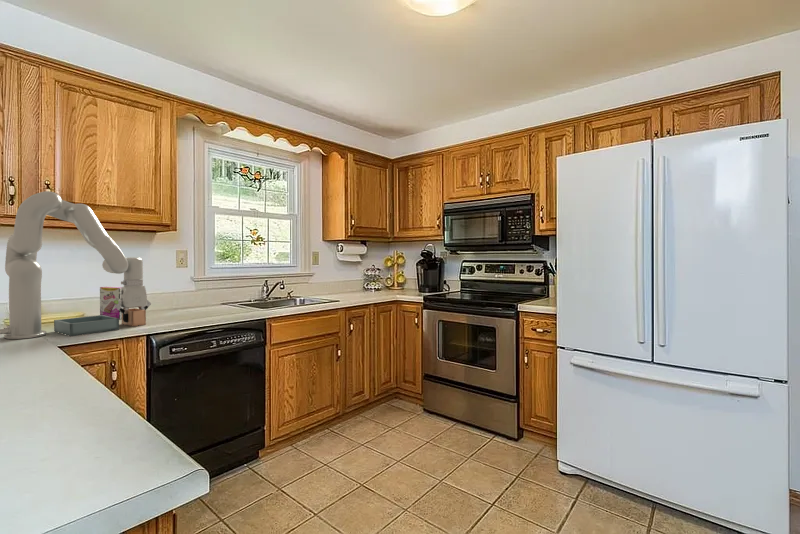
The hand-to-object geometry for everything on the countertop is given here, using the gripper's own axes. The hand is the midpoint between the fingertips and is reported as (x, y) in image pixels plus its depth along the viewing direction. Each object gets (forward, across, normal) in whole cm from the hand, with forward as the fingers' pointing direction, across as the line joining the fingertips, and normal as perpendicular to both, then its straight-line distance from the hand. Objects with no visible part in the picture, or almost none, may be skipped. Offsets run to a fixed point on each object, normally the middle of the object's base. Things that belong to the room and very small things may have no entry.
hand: (133, 320), depth 195 cm
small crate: (+2, 0, 0) cm, 2 cm away
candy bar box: (+2, +2, +25) cm, 25 cm away
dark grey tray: (+2, -19, 0) cm, 19 cm away
